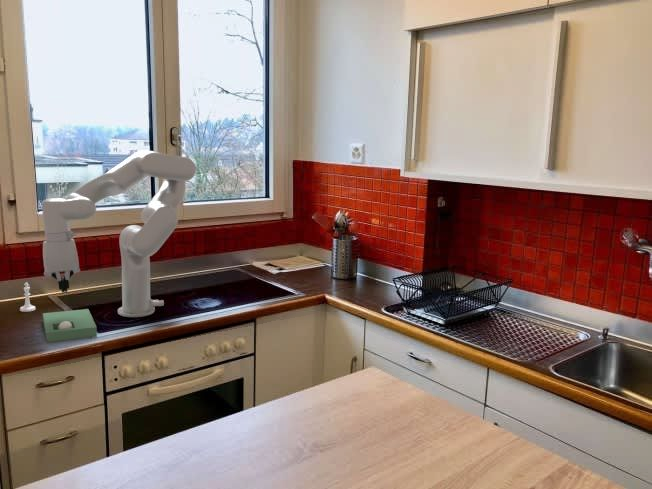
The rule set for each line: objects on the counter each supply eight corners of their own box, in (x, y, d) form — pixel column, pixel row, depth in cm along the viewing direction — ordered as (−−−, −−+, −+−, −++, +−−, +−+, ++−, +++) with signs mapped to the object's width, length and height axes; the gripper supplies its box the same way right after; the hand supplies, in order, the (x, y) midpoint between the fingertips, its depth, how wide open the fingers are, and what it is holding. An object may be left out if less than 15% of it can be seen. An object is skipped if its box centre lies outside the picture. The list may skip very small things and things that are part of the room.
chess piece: (28, 312, 192) (27, 284, 190) (16, 310, 193) (15, 283, 191) (38, 308, 197) (37, 281, 195) (26, 306, 198) (25, 280, 196)
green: (88, 317, 190) (88, 308, 190) (96, 336, 173) (96, 327, 173) (43, 321, 183) (42, 313, 183) (47, 342, 166) (46, 332, 166)
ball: (65, 335, 171) (62, 337, 174) (76, 328, 173) (73, 329, 176) (57, 325, 170) (54, 326, 173) (68, 317, 173) (65, 319, 176)
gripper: (82, 232, 184) (87, 284, 188) (31, 237, 177) (38, 291, 181) (85, 236, 178) (90, 290, 182) (33, 241, 170) (39, 298, 174)
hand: (64, 291), depth 181 cm, fingers closed
